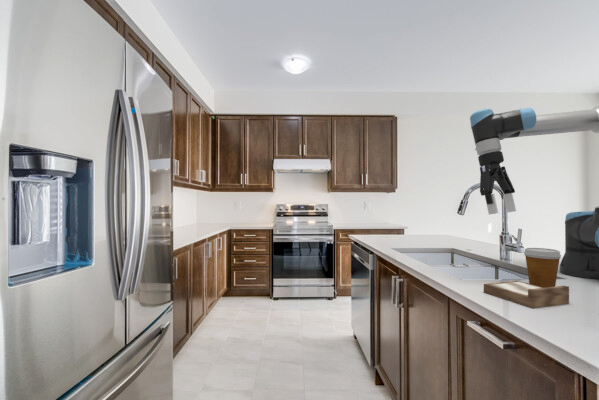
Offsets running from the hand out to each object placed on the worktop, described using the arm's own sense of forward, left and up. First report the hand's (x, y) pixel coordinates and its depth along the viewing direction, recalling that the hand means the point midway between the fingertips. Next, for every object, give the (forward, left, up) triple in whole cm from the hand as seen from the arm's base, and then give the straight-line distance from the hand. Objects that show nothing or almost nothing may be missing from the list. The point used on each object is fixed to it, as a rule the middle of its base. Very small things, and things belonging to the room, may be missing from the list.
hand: (502, 212), depth 113 cm
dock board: (+12, +17, -23) cm, 31 cm away
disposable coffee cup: (-3, +11, -23) cm, 26 cm away
